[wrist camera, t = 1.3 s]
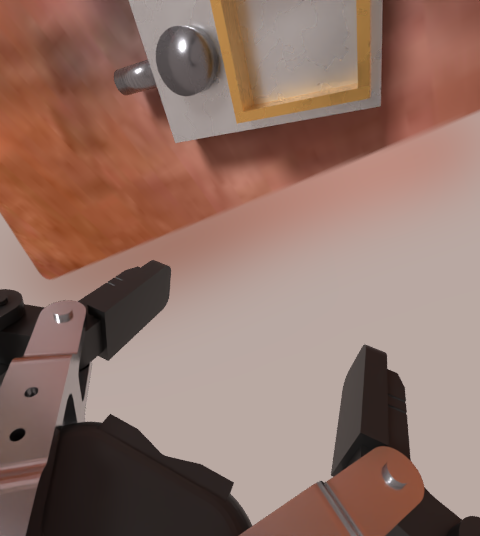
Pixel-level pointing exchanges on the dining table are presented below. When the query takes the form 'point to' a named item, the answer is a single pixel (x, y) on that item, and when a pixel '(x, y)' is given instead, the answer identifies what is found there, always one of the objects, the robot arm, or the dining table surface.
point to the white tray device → (256, 61)
